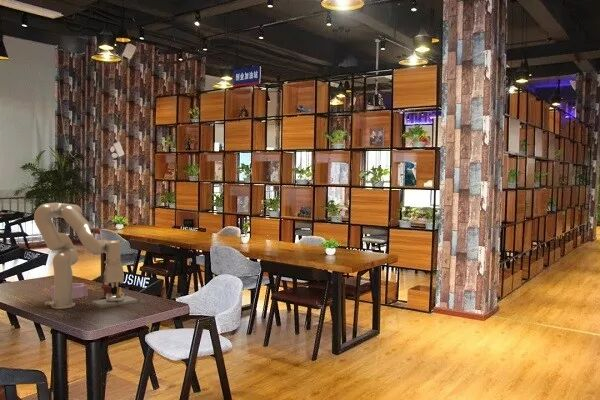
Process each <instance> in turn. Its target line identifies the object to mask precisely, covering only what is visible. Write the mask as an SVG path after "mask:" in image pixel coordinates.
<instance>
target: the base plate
mask: <svg viewBox="0 0 600 400" xmlns="http://www.w3.org/2000/svg"><path fill="white" fill-rule="evenodd" d="M133 303H134V304H135V303H138V299H137V298H134V297H131V296H129V295H126V296H125V295H124V300H123V301H120V302H107V301H106V298H104V299H98V300H92V301H91V304H92V305H94V306H97V307H99V309H100V308H101V309H102V308H110V307H117V306H124V305H129V304H133Z"/></svg>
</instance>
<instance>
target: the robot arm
mask: <svg viewBox="0 0 600 400" xmlns="http://www.w3.org/2000/svg"><path fill="white" fill-rule="evenodd" d="M33 215H34V216H33V219H34V223H35V225H36V227H37V230H38V231H39V232H40V235H41V237H42V239H43V241H44V242H45V245H46V247H47V248H48V249H49V250H50V251H51V252H52V251H53V252H56V251H57V253H56V254H55V255H54V256H53V259H52V265H53V266H52V267H53V273H54V274H53V275H54V277H53V279H54V282H53V283H54V284H53V286H54V299H53V298H52V299H51V300H49V301H45V302H44V305H45V306H47V305H48V306H51V309H55V310H58V309H59V310H63V309H70V308H73V307H76V303H75V302H74V301H73V299H74V298H73V280H74V279H73V270H72V266H73V265H75V264H76V263H77V262H78V260H79V254H78V251H77V249H76V247H75V245H74V244H73V241H72V239H71V238H70V237H69V235H68V234H66V233H64V232H60V231H58V229H57V226H56V225H55V223H54V222H53V221H52V218H63V219H64V221H65V222H66V223H67V224H68V225H69V226H70V227H71V228H72V230H73V231H74V232H75V233H76V234H77V235H76V236H77V237H78V239H79V241H80V243H81V244H82V245H83V247H84V248H85V249H86V250H87V251H88V252H89V253H90V254H92V255H96V256H98V255H100V254H103V253H105V254H106V259H105V260H104V263H103V264H105V265H104V273H103V280H104V281H105V282H104V284H105V285H109V286H110V287H111V293H112V294H113V295H114V294H117V287H118V285H121V284H123V283H124V280H125V273H124V272H125V271H124V268H123V263H121V262H122V261H121V241H120V240H118V239H115V240H113V239H112V240H107V239H98V240H97V239H96V237H94V235H93V234H92V232H91V228H90V227H91V226H90V222H89V221H88V220H87V219H86V218H85V217H84V216H83V210H82V208H81V207H80V205H78V204H72V203H71V204H70V203H62V202H47V203H43V204H40V205H39V206H38V207H37V208H36V209H35V211H34V214H33ZM113 283H114V284H113Z"/></svg>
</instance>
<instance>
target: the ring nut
mask: <svg viewBox="0 0 600 400" xmlns="http://www.w3.org/2000/svg"><path fill="white" fill-rule="evenodd" d="M124 296H125V292H123V291H122V287H121V286H120V287H118V288H117V294H114V295H113V294H112V293H111V294H109V293H106V297H105V299H106V301H107V302H120V301H123V300H124Z"/></svg>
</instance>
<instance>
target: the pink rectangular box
mask: <svg viewBox="0 0 600 400" xmlns="http://www.w3.org/2000/svg"><path fill="white" fill-rule="evenodd" d="M88 291H89V290H88V284H85V282H82V283H81V282H80V283H79V282H77V283H76V282H75V283H73V299H80V298H84V297H88ZM50 299H52V300H53V299H54V285H53V286H50Z"/></svg>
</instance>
